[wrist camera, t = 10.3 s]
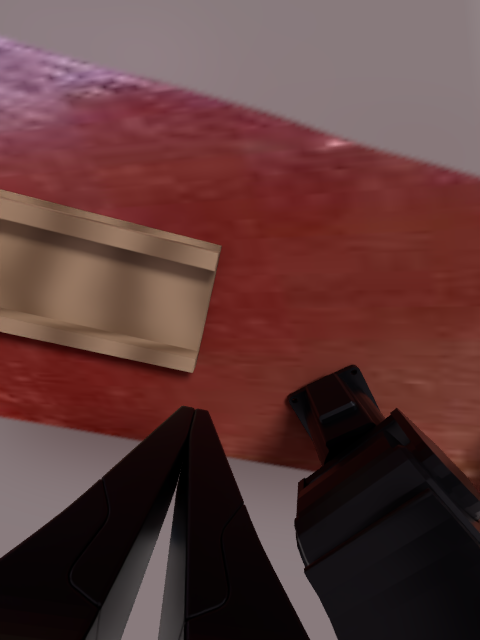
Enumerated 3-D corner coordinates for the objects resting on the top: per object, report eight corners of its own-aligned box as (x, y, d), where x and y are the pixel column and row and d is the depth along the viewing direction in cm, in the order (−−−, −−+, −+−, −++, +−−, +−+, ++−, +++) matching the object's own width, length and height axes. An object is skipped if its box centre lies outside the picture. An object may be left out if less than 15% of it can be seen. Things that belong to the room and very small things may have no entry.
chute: (221, 245, 19) (219, 247, 17) (196, 364, 22) (191, 377, 20) (-153, 150, 17) (-202, 140, 15) (-124, 295, 20) (-161, 302, 18)
